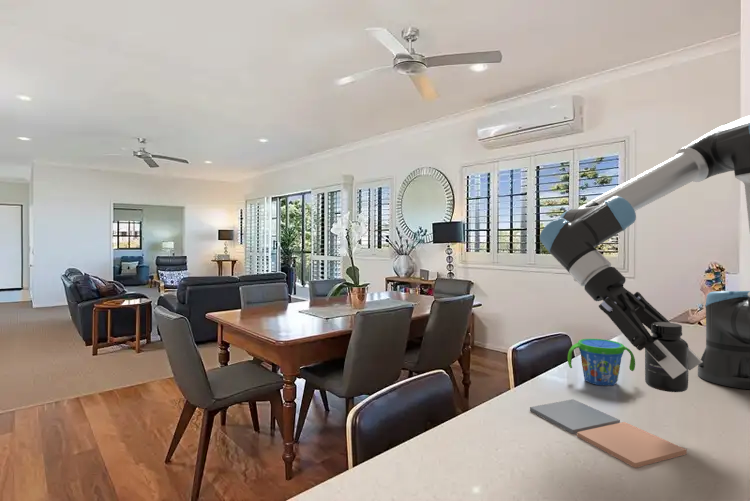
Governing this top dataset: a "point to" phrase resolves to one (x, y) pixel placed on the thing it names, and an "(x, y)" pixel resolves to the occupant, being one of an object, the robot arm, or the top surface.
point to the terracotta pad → (631, 444)
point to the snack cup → (601, 360)
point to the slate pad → (573, 415)
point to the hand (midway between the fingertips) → (688, 370)
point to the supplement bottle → (678, 348)
